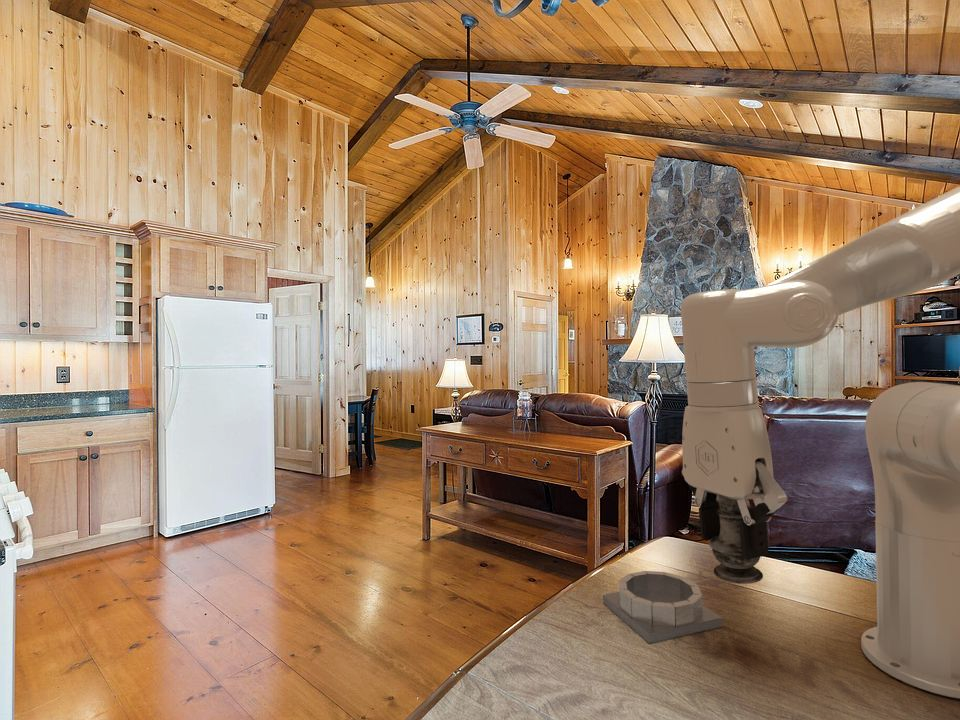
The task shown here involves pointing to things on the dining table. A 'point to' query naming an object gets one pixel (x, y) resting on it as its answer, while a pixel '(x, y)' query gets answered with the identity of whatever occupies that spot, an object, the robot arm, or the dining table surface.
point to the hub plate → (660, 630)
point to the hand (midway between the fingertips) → (733, 545)
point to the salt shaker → (732, 547)
